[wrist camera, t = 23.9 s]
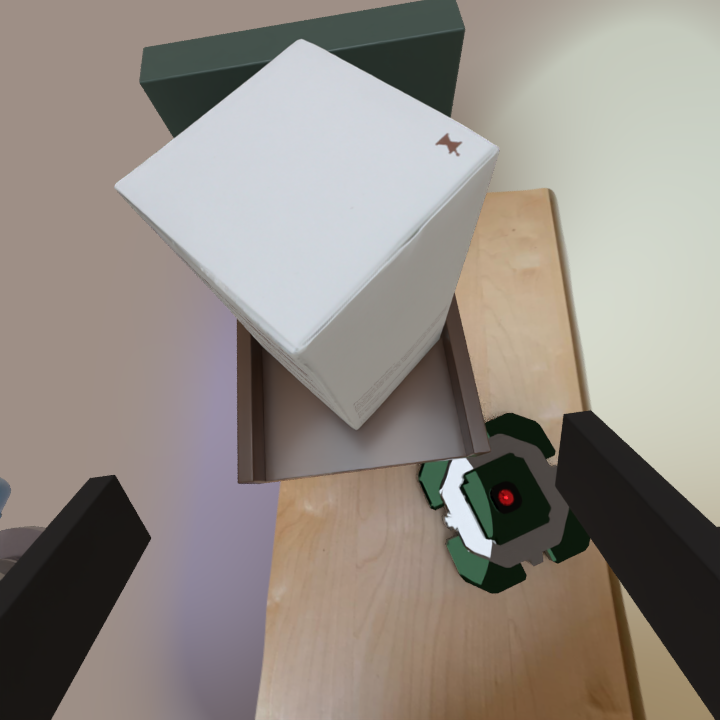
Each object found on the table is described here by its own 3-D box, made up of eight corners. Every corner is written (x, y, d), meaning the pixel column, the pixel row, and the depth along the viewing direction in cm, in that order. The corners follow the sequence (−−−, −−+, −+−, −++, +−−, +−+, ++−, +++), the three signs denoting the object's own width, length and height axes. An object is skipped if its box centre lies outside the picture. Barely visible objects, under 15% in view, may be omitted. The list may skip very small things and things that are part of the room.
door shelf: (294, 483, 28) (237, 483, 17) (285, 317, 32) (235, 238, 22) (452, 464, 27) (491, 452, 17) (420, 298, 32) (435, 209, 21)
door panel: (322, 396, 54) (106, 115, 13) (320, 365, 56) (121, 26, 15) (416, 384, 54) (505, 51, 12) (410, 353, 56) (472, -35, 14)
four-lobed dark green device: (469, 598, 45) (477, 610, 40) (406, 459, 51) (407, 457, 46) (597, 536, 46) (619, 542, 42) (521, 407, 52) (533, 400, 47)
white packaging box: (349, 266, 23) (304, 25, 11) (443, 339, 21) (515, 141, 9) (262, 349, 21) (100, 179, 9) (354, 436, 19) (295, 360, 7)
